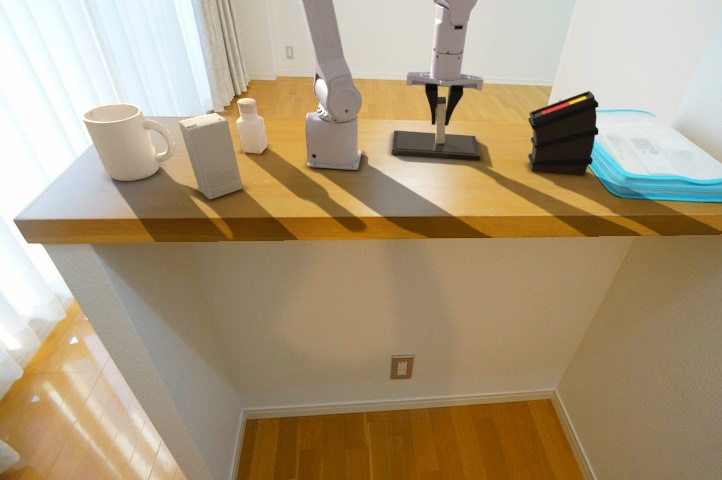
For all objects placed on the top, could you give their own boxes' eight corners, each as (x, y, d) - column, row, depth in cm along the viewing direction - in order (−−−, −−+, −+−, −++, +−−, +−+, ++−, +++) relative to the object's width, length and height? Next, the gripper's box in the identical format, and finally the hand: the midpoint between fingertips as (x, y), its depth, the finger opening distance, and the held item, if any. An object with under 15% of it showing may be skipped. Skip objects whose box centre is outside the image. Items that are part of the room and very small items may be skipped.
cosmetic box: (232, 179, 73) (216, 110, 65) (244, 190, 70) (229, 119, 62) (197, 190, 69) (176, 119, 61) (209, 202, 67) (188, 129, 59)
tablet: (391, 154, 84) (391, 149, 83) (393, 134, 91) (393, 129, 91) (479, 160, 84) (480, 155, 83) (474, 140, 92) (475, 135, 91)
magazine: (605, 170, 80) (597, 96, 71) (536, 191, 84) (521, 123, 75) (598, 161, 83) (590, 89, 74) (532, 182, 87) (517, 115, 78)
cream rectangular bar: (435, 143, 86) (437, 99, 81) (435, 140, 88) (436, 96, 82) (444, 143, 86) (446, 99, 81) (444, 140, 88) (445, 96, 82)
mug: (187, 158, 77) (170, 103, 71) (177, 180, 71) (158, 121, 65) (116, 160, 75) (92, 103, 69) (100, 183, 69) (72, 123, 62)
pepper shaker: (241, 152, 81) (231, 103, 74) (249, 144, 84) (240, 96, 77) (260, 155, 80) (252, 105, 74) (268, 146, 83) (261, 98, 77)
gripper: (408, 53, 72) (403, 128, 81) (490, 58, 73) (477, 133, 81) (408, 43, 78) (404, 115, 87) (485, 48, 78) (473, 119, 87)
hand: (439, 123), depth 84 cm, fingers closed on cream rectangular bar, 2 cm apart
